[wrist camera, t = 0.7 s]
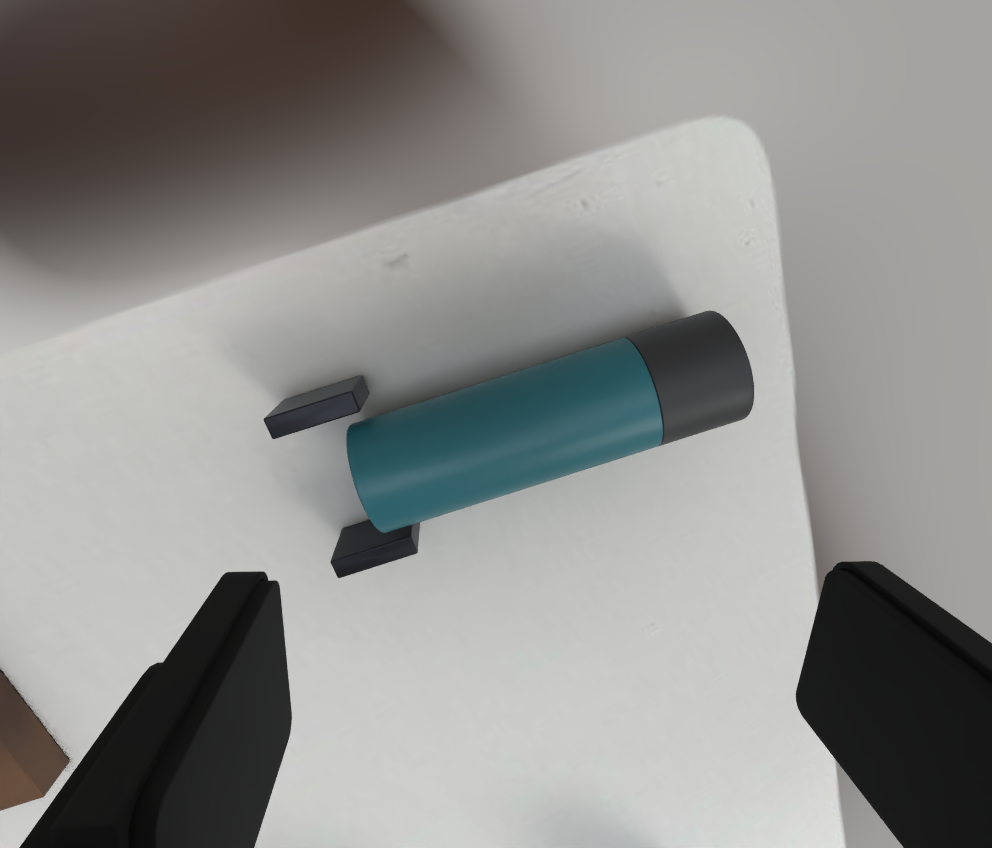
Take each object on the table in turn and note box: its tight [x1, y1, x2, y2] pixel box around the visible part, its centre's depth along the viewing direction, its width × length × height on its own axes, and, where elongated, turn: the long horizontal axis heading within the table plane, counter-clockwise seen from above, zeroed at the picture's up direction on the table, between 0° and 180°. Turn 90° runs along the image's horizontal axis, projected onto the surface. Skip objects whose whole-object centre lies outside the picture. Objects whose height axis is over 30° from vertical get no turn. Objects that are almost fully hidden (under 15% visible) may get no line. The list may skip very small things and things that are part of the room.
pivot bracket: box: [264, 375, 420, 578], centre depth 26 cm, size 8×4×3 cm, turn 17°
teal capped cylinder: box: [347, 311, 754, 533], centre depth 25 cm, size 5×17×5 cm, turn 107°
